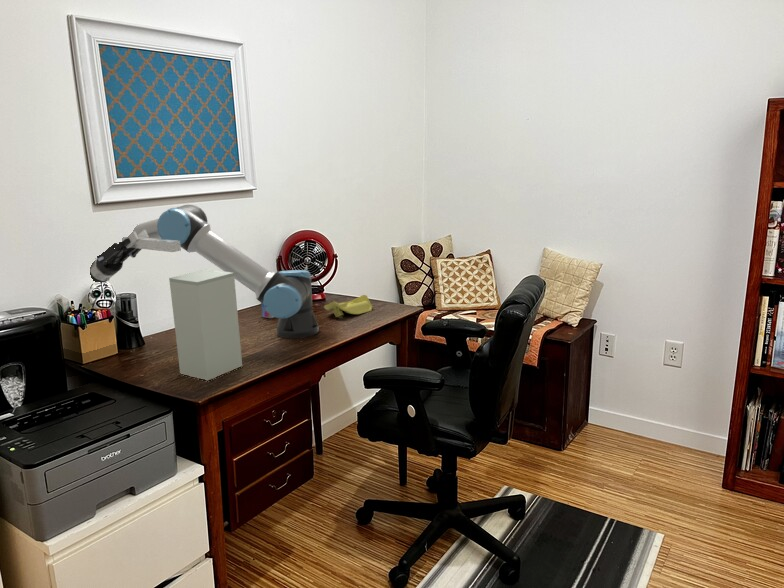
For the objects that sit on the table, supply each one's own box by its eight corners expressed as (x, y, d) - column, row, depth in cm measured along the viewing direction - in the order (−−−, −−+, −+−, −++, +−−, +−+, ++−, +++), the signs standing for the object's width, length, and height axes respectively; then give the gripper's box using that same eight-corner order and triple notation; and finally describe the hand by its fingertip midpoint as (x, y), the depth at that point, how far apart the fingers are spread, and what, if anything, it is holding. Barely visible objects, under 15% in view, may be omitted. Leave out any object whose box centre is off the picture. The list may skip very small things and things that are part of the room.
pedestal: (180, 374, 189) (169, 278, 182) (215, 360, 201) (206, 269, 194) (207, 381, 183) (197, 282, 176) (242, 366, 195) (233, 272, 187)
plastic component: (350, 300, 262) (367, 293, 256) (356, 317, 261) (374, 310, 255) (318, 308, 246) (336, 300, 240) (325, 325, 245) (342, 318, 239)
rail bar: (123, 246, 200) (122, 237, 199) (131, 245, 202) (130, 236, 201) (172, 252, 187) (171, 242, 186) (181, 250, 190) (179, 240, 189)
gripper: (132, 271, 216) (167, 241, 202) (89, 280, 202) (123, 249, 189) (123, 251, 216) (157, 220, 203) (79, 259, 203) (113, 227, 189)
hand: (141, 234), depth 196 cm, fingers closed on rail bar, 3 cm apart
